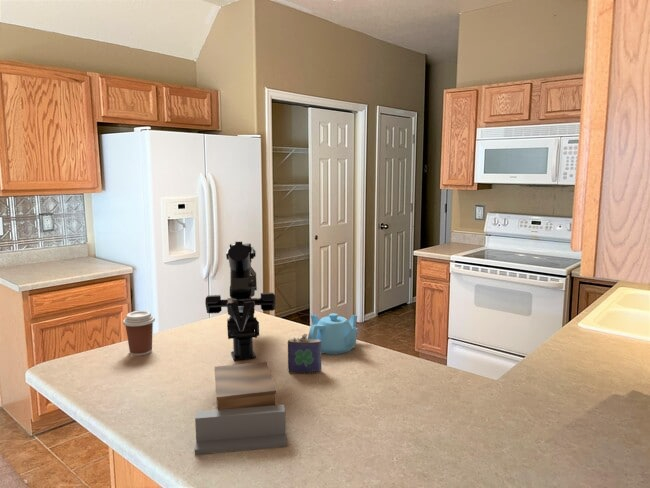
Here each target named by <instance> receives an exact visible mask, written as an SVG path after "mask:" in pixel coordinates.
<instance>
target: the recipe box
mask: <svg viewBox="0 0 650 488" xmlns="http://www.w3.org/2000/svg"><path fill="white" fill-rule="evenodd" d="M214 381H215V383H214V384H215V397H216V410H220V409H234V408H247V407H260V406H273V405H277V404H276V403H277V402H276V395H277V388H276V385H275V382H274V379H273V376H272V374H271V371H270V367H269V364H268V362H267V361H259V362H258V361H257V362H250V363H240V364H239V363H237V364H230V365H229V364H227V365H217V366H214Z"/></svg>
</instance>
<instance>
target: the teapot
mask: <svg viewBox="0 0 650 488" xmlns="http://www.w3.org/2000/svg"><path fill="white" fill-rule="evenodd" d="M310 319H311V323H312V324H311V325H310V328H309V332H308V334H307V340H315V339H319V340H321V354H326V355H327V354H328V355H341V354H345V353H349V352H351V350H352V349H354V347H355V346H356V344H357V334H358V331H359V328H357V327H356V326H357V321H358V315H357V314H351V316H350V318H349V319H347V318H345V317H343V316H339V314H338V313H333V312H332V313H329V314H328V316H327V315H326V316H323V317H321V318H320V319H319V318H318V315H317V314H311V315H310Z"/></svg>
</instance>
